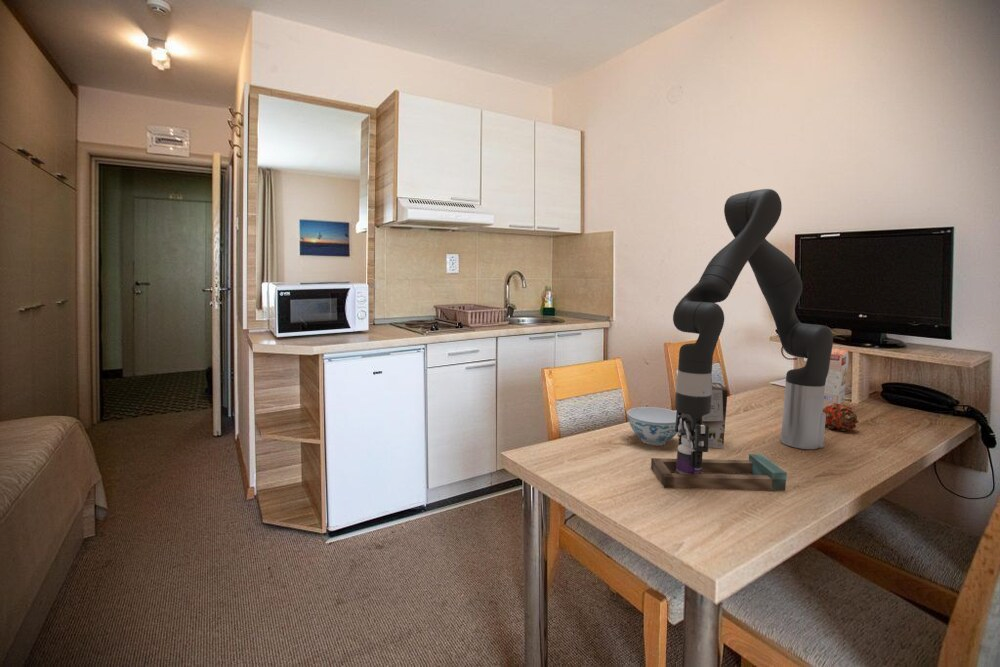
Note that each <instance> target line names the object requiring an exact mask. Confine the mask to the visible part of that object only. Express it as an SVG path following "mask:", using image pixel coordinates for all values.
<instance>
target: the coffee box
mask: <svg viewBox="0 0 1000 667" xmlns="http://www.w3.org/2000/svg"><path fill="white" fill-rule="evenodd" d="M728 390H729V389H727V388H726V387H725V386H724V385H722V383H720V382H712V396H711V410H710V413H709V414H707V415H704V416H703V417H702V421H703V424H708V426H709V436H708V448H712V449H713V448H714V449H724V445H725V443H724V442H725V432H726V431H725V430H726V417H727V406H728V405H727V404H728V393H729V391H728ZM703 443H704V441H703ZM699 446H700V445H699Z"/></svg>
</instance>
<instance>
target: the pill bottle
mask: <svg viewBox="0 0 1000 667" xmlns="http://www.w3.org/2000/svg"><path fill="white" fill-rule="evenodd" d="M681 443H682V444H680V445H679V446H678V445H677V452H676V459H677V466H676V472H675V474H702V473H701V470H702V467H701V468H692V467H691V451H692V450H691V444H690V442H689V441H688V440H687V435H682V438H681ZM694 443H695V442H694ZM699 445H700V444H699ZM703 456H704V455H702V457H703Z"/></svg>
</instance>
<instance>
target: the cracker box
mask: <svg viewBox="0 0 1000 667" xmlns="http://www.w3.org/2000/svg"><path fill="white" fill-rule="evenodd" d="M849 357H850V350H849V349H844V348H842V349H841V348H833V347H832V352H831V358H830V365H829V372H828V375H827V378H826V383H825V393H824V404H823V408H825V407H826V406H831V405H834V404H833V403H837V404H841V405H842V404H845V402H844V400H845V394H846V386H847V378H848V377H847V376H848V369H849V360H850V358H849Z"/></svg>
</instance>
